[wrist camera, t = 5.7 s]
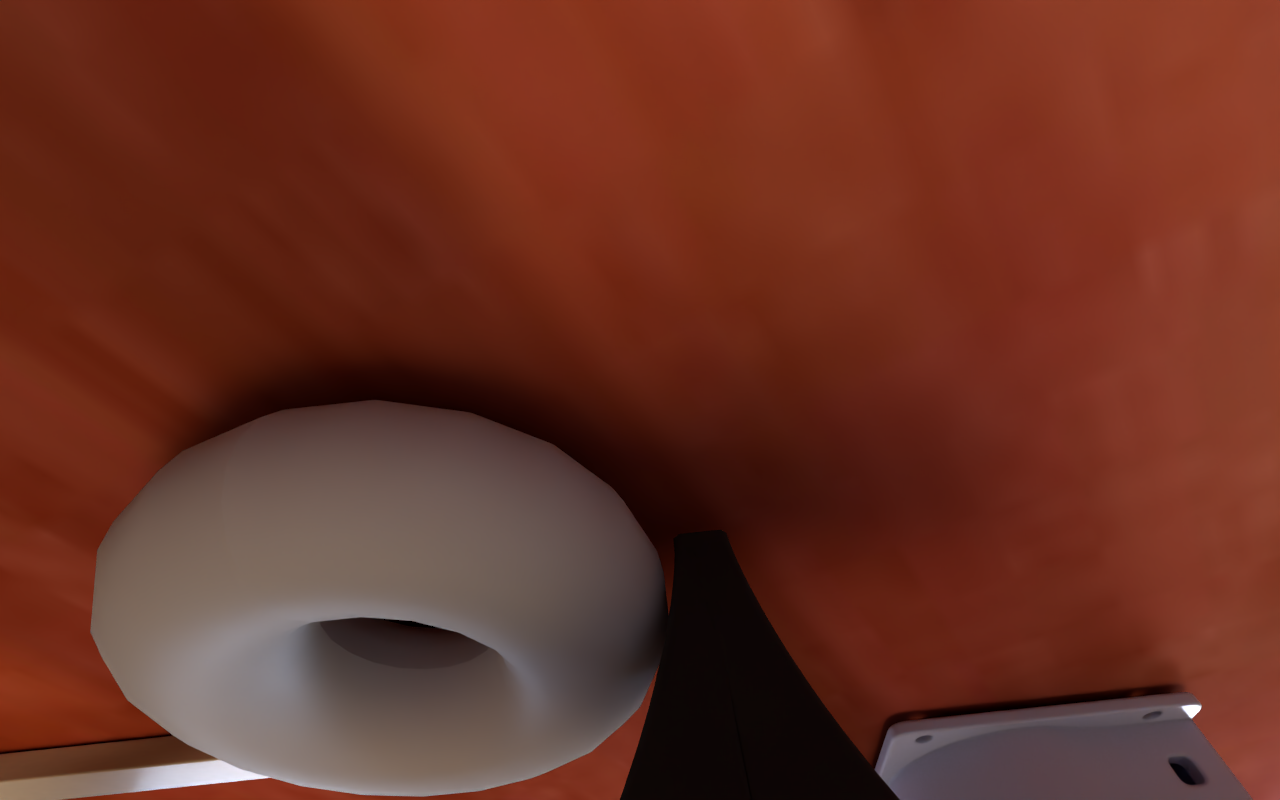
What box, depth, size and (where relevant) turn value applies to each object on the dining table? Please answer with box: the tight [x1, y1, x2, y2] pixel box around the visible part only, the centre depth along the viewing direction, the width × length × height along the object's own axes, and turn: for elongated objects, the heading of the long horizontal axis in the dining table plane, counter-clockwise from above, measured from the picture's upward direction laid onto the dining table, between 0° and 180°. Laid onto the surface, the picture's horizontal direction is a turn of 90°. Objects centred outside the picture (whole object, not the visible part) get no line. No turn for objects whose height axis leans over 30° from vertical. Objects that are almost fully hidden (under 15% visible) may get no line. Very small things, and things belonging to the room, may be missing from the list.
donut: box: [91, 400, 669, 796], centre depth 11 cm, size 10×3×10 cm
